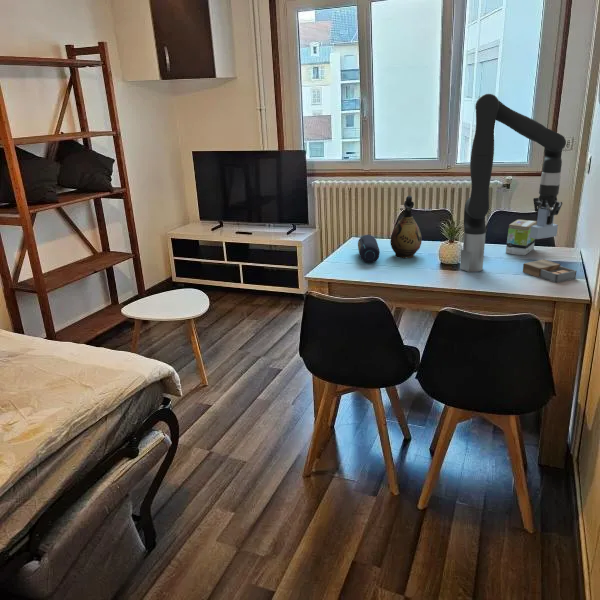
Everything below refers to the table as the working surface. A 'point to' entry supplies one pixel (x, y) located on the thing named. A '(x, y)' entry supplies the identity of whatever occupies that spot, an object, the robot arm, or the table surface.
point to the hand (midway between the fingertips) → (544, 223)
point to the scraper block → (543, 226)
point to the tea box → (520, 237)
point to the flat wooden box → (539, 267)
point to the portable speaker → (368, 249)
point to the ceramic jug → (406, 233)
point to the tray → (558, 275)
